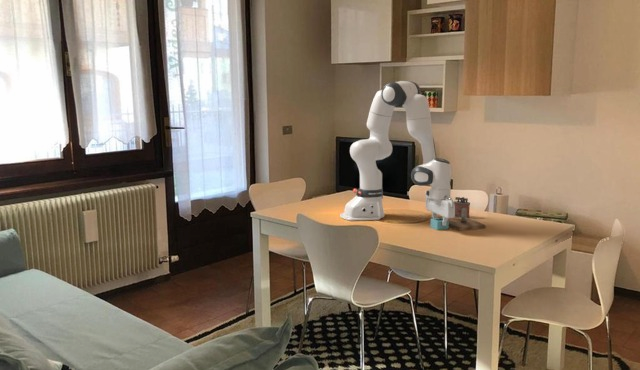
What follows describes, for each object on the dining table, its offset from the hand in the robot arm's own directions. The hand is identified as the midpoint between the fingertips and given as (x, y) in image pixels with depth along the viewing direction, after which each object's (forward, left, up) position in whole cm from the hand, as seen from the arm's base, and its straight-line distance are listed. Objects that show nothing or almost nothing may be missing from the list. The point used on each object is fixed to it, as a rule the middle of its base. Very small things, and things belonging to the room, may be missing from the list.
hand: (439, 223), depth 259 cm
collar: (0, 0, -2) cm, 2 cm away
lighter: (+22, +16, -2) cm, 27 cm away
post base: (+13, 0, -2) cm, 13 cm away
